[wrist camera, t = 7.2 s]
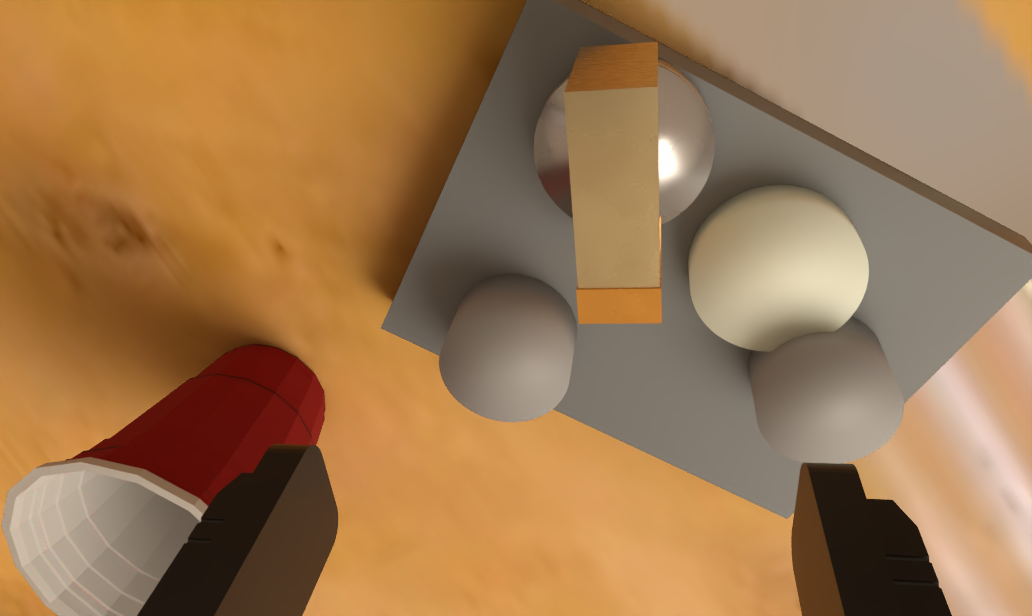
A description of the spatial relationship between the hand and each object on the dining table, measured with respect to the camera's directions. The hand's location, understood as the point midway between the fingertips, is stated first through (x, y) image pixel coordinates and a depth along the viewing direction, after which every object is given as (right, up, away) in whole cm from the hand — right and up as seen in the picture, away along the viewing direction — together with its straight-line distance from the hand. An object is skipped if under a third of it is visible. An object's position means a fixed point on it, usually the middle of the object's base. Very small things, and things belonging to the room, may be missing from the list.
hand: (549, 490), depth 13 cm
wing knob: (+3, +9, +14) cm, 17 cm away
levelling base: (+6, +4, +18) cm, 20 cm away
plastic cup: (-13, -1, +25) cm, 29 cm away
